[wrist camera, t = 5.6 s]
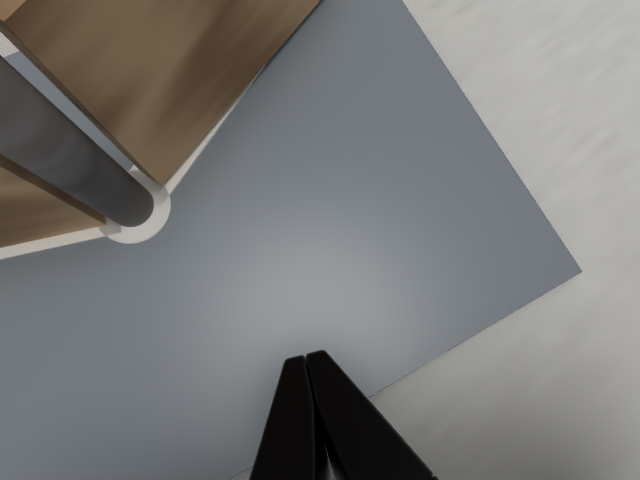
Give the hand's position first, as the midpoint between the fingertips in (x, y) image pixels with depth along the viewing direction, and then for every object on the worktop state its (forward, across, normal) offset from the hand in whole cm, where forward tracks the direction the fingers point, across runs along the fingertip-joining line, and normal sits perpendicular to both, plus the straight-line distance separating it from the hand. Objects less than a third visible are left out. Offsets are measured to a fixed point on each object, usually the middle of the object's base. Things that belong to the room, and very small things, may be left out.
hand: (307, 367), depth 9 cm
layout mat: (+9, +3, 0) cm, 10 cm away
